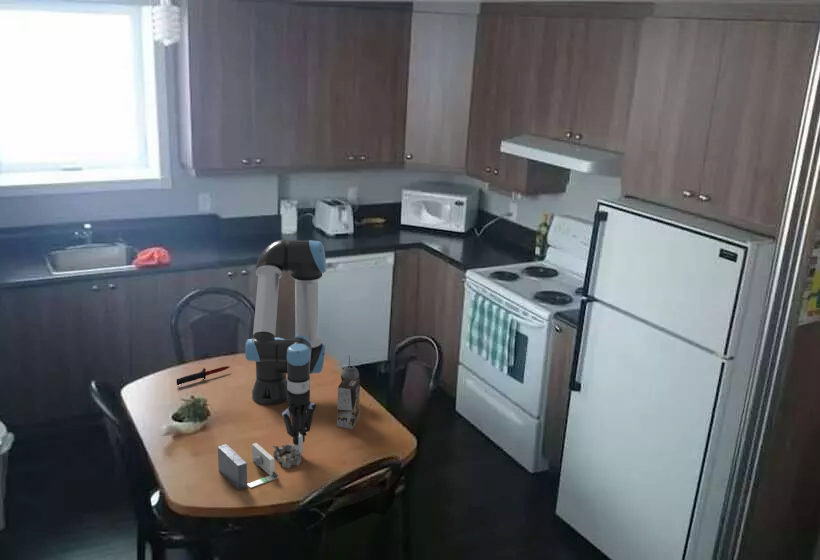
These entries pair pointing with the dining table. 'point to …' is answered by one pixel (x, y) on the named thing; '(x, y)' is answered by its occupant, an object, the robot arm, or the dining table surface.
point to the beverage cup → (350, 372)
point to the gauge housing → (237, 469)
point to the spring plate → (263, 459)
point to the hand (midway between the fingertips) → (298, 451)
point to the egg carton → (287, 455)
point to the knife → (199, 375)
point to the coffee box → (348, 402)
